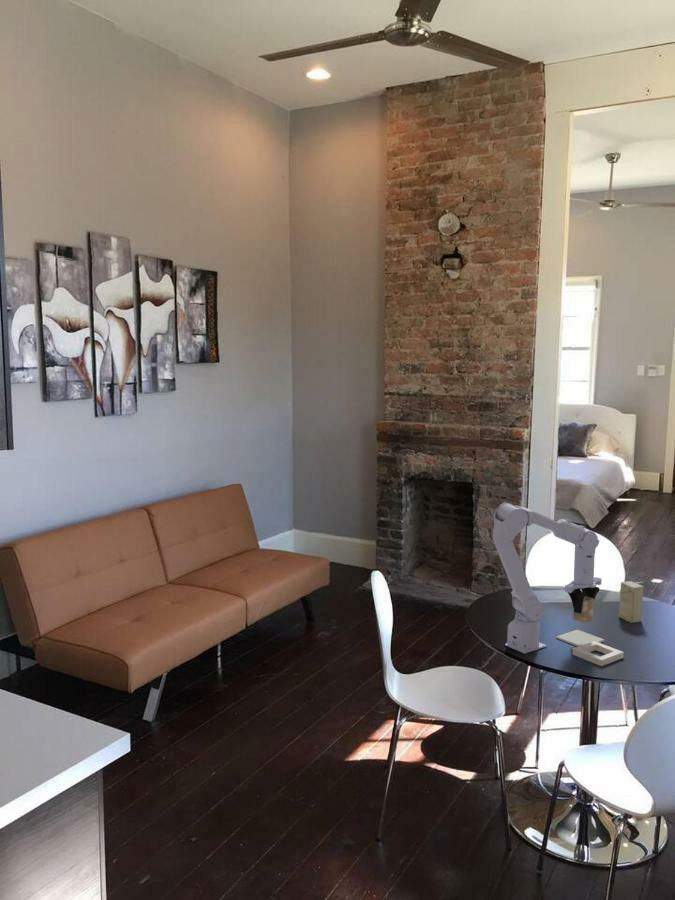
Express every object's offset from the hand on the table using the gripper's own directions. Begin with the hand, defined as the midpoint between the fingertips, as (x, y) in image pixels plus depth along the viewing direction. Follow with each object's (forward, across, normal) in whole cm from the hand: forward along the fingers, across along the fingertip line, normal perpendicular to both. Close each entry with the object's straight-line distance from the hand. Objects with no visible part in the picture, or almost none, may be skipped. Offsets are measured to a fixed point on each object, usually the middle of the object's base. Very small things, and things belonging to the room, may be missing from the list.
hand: (582, 610), depth 226 cm
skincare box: (+10, +28, +3) cm, 30 cm away
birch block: (+3, 0, 0) cm, 3 cm away
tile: (+10, 0, +1) cm, 10 cm away
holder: (+10, -5, -10) cm, 15 cm away
